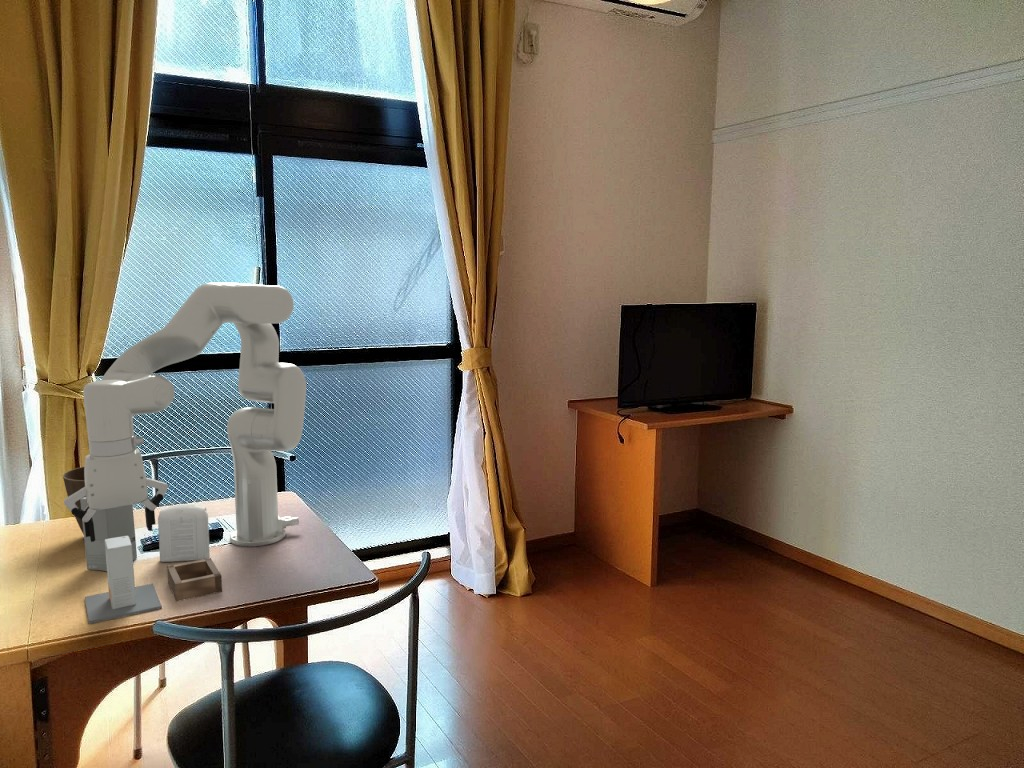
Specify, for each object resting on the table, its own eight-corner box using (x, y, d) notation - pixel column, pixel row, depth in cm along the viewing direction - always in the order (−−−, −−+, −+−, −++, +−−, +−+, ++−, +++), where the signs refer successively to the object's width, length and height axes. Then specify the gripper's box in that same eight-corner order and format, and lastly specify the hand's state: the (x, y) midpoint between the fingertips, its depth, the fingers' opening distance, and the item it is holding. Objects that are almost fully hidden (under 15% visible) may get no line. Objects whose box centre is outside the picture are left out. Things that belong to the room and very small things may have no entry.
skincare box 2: (108, 598, 143) (104, 538, 141) (133, 593, 145) (129, 534, 143) (111, 610, 138) (106, 548, 136) (136, 605, 140) (132, 544, 138)
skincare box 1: (112, 573, 156) (106, 500, 154) (82, 570, 157) (77, 498, 155) (139, 558, 164) (135, 489, 162) (111, 555, 165) (106, 486, 163)
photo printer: (211, 553, 167) (208, 500, 165) (208, 560, 163) (205, 506, 161) (162, 556, 165) (159, 503, 163) (158, 564, 161) (154, 509, 159)
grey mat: (153, 585, 150) (153, 583, 150) (161, 608, 140) (161, 605, 140) (84, 599, 143) (84, 596, 143) (89, 623, 133) (88, 621, 133)
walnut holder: (211, 573, 156) (210, 557, 155) (222, 591, 147) (221, 575, 147) (168, 582, 151) (167, 566, 151) (176, 601, 143) (175, 584, 142)
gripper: (160, 436, 145) (168, 519, 148) (57, 449, 136) (67, 537, 139) (166, 444, 139) (174, 530, 142) (58, 458, 129) (69, 550, 133)
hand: (121, 534), depth 140 cm, fingers open, 9 cm apart
